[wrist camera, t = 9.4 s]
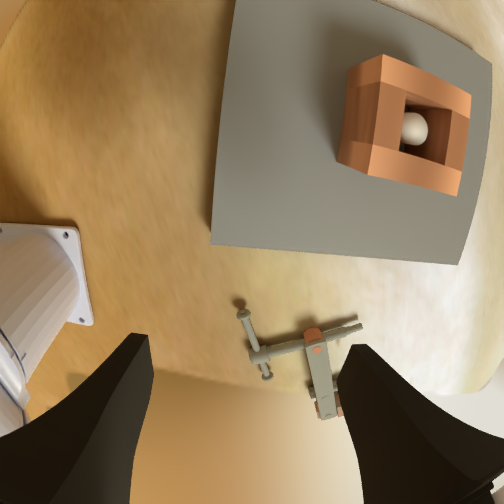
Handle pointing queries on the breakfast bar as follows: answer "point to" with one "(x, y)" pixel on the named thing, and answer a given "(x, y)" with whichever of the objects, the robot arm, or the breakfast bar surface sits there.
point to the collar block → (391, 120)
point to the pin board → (334, 135)
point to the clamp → (317, 359)
